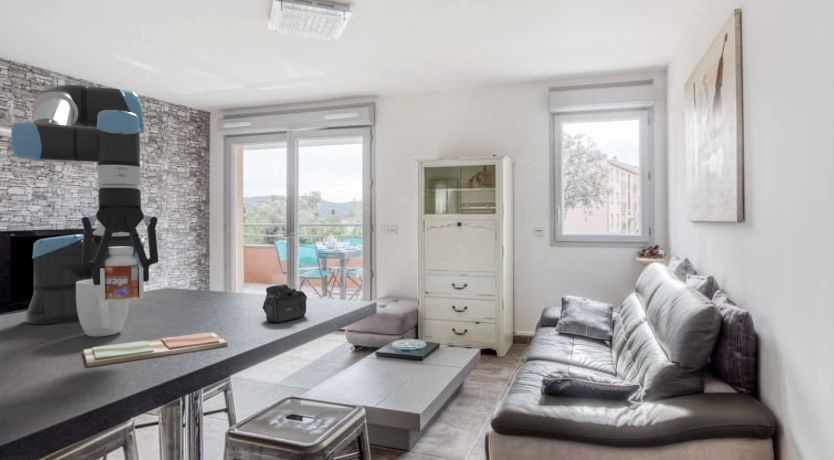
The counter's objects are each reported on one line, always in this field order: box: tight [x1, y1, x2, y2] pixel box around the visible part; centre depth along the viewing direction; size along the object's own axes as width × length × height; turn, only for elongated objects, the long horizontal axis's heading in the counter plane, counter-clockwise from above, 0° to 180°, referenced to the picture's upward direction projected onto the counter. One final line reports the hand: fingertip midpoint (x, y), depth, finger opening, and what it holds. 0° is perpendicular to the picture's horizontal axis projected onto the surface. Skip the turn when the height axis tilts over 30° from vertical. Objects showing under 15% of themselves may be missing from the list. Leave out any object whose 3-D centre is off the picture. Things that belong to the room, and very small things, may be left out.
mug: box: [76, 279, 130, 338], centre depth 122 cm, size 15×11×13 cm
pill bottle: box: [104, 246, 139, 302], centre depth 105 cm, size 6×6×11 cm
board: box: [83, 331, 229, 368], centre depth 109 cm, size 12×26×1 cm, turn 126°
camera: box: [262, 283, 308, 324], centre depth 141 cm, size 13×10×10 cm
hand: (121, 299), depth 105 cm, fingers closed on pill bottle, 6 cm apart
